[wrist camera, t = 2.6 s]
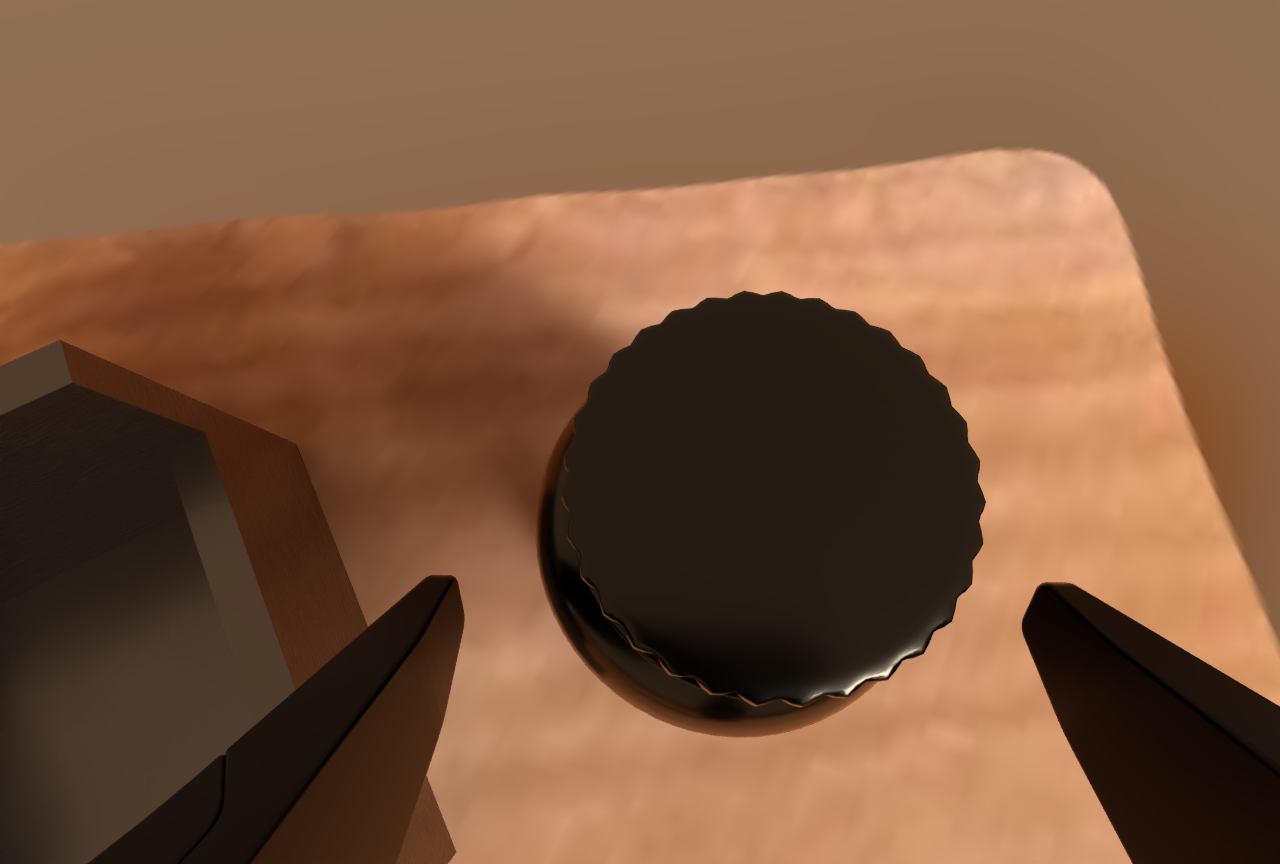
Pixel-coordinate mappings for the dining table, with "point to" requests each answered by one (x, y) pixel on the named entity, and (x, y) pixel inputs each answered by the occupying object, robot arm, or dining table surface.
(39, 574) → the condiment caddy
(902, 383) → the supplement bottle
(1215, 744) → the robot arm
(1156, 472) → the dining table surface
